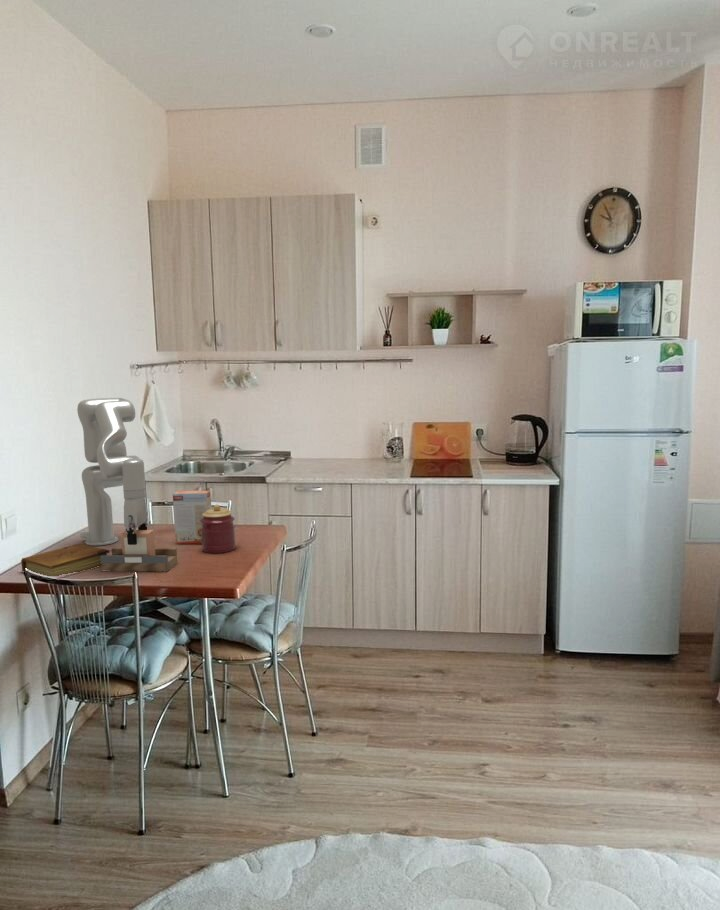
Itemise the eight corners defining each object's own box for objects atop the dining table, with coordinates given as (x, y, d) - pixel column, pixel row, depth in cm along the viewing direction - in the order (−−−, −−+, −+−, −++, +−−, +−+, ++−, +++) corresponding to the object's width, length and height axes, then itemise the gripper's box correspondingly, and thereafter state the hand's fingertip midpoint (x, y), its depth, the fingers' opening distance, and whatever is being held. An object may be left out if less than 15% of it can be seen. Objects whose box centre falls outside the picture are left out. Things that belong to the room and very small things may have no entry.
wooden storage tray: (101, 571, 254) (99, 556, 253) (114, 562, 265) (112, 548, 264) (167, 571, 252) (166, 556, 251) (177, 563, 262) (176, 548, 262)
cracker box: (213, 540, 293) (211, 489, 290) (209, 544, 287) (206, 492, 284) (180, 540, 295) (177, 490, 292) (175, 544, 289) (172, 492, 286)
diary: (80, 557, 275) (79, 543, 274) (110, 565, 264) (109, 550, 263) (22, 573, 256) (20, 557, 255) (51, 582, 245) (50, 565, 245)
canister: (207, 544, 287) (204, 501, 284) (239, 544, 286) (237, 500, 283) (198, 553, 274) (195, 508, 271) (231, 553, 273) (229, 508, 271)
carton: (128, 556, 261) (126, 529, 260) (155, 557, 260) (153, 529, 259) (122, 560, 256) (120, 533, 255) (150, 561, 255) (148, 533, 254)
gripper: (134, 488, 263) (137, 534, 266) (114, 499, 246) (117, 547, 249) (154, 488, 263) (157, 534, 265) (135, 499, 246) (138, 547, 248)
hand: (137, 540), depth 257 cm, fingers open, 9 cm apart
